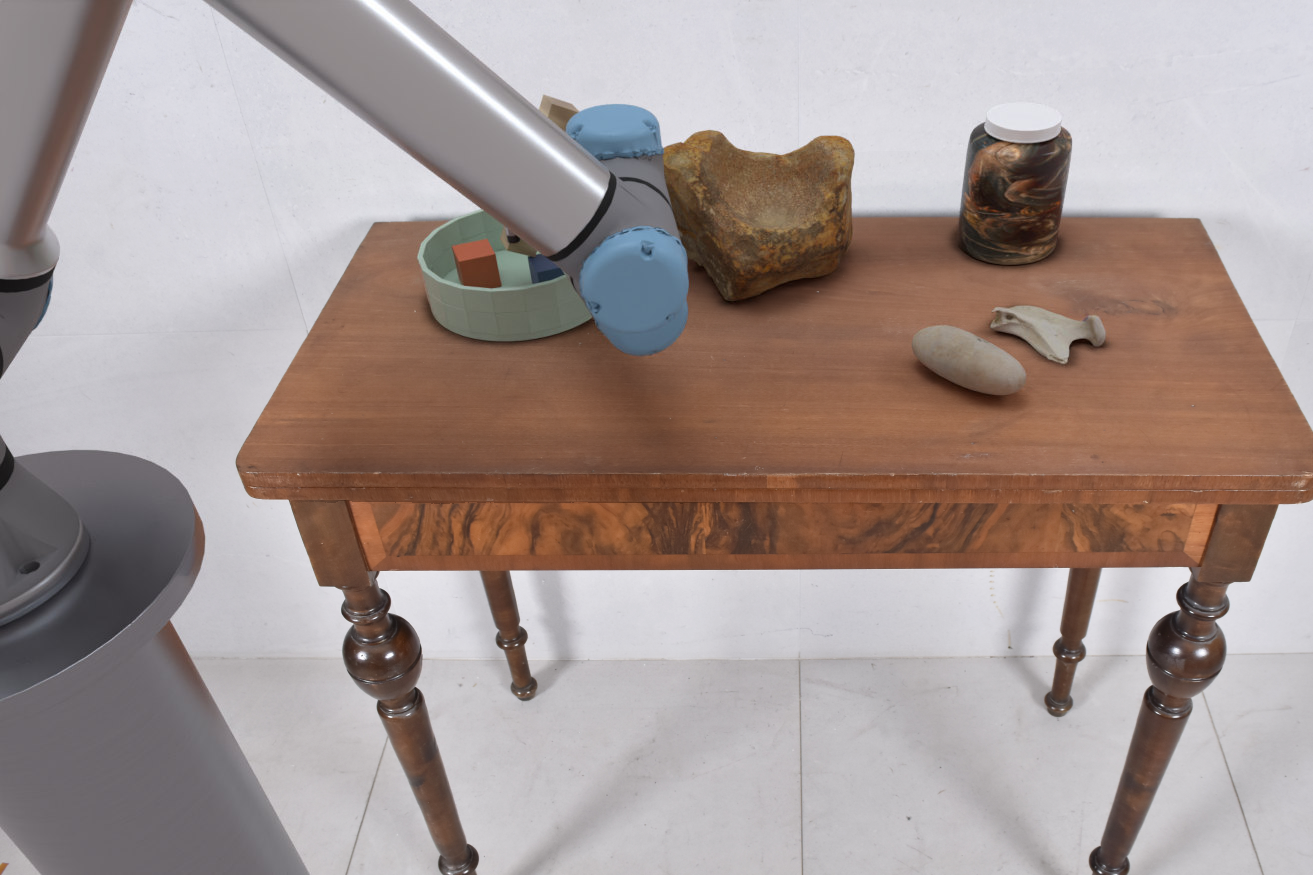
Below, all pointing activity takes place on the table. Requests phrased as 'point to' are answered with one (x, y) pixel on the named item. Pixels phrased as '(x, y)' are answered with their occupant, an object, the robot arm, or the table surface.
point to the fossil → (1048, 329)
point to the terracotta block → (477, 264)
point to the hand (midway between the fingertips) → (527, 156)
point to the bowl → (500, 309)
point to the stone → (968, 360)
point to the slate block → (543, 269)
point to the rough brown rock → (761, 210)
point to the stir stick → (560, 116)
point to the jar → (1014, 184)
